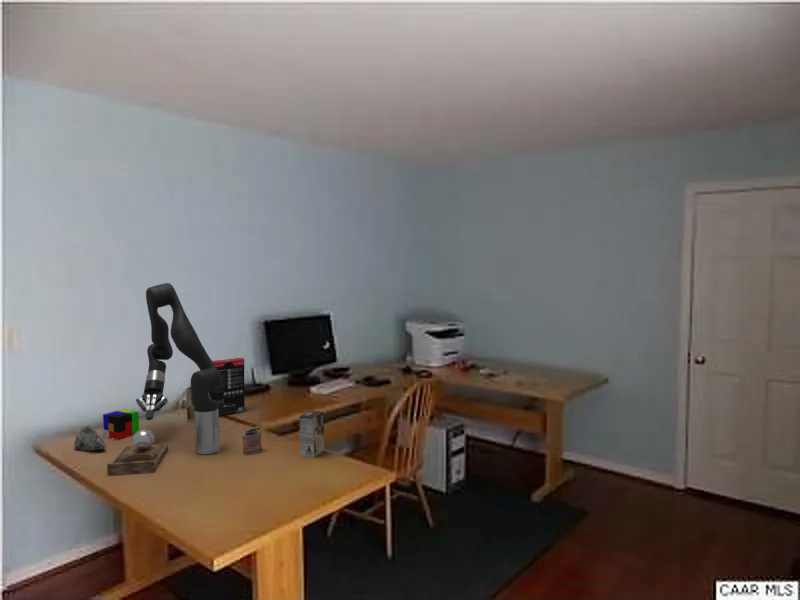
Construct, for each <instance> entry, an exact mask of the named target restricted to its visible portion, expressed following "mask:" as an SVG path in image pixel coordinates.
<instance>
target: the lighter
mask: <svg viewBox="0 0 800 600" xmlns="http://www.w3.org/2000/svg"><path fill="white" fill-rule="evenodd" d="M260 430H261V427H260V426H255V427H248V428H247V429H245V430H244V432H245V434H242V435H241V436H242V449H243V450H242V455H243V454H248V455H253V454H257V453H260V451H261V452H262V451H263V447H262V443H263V442H262V435H263V434H262V433H263V432H262V431H260ZM256 452H257V453H256ZM252 453H253V454H252Z"/></svg>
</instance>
